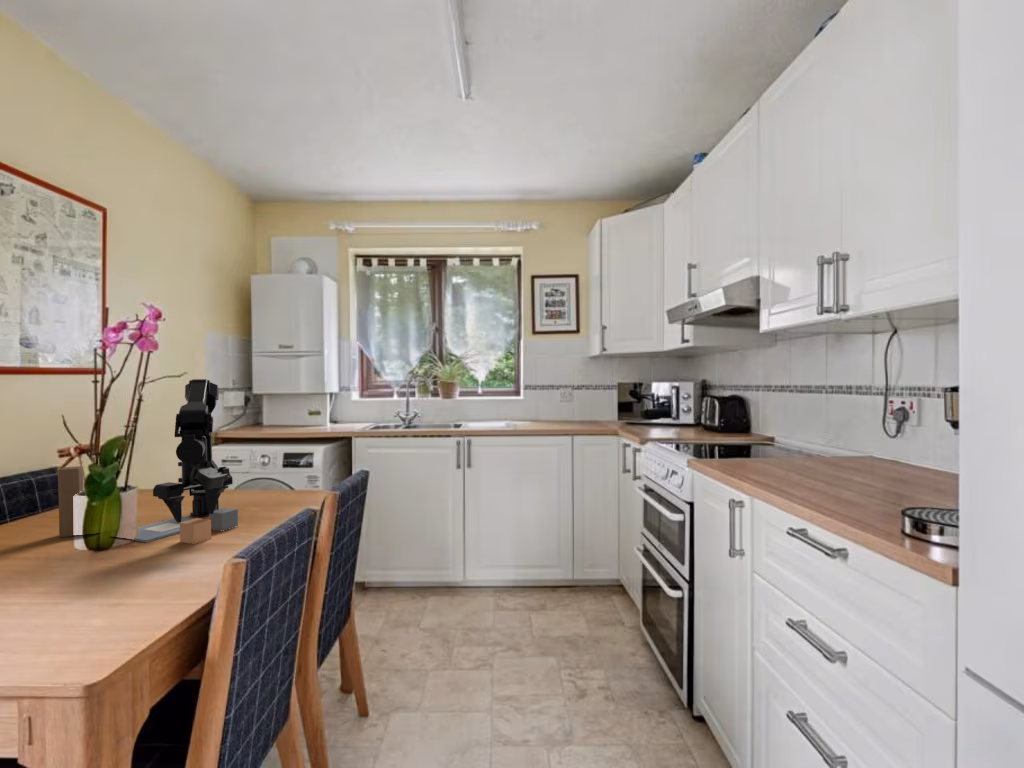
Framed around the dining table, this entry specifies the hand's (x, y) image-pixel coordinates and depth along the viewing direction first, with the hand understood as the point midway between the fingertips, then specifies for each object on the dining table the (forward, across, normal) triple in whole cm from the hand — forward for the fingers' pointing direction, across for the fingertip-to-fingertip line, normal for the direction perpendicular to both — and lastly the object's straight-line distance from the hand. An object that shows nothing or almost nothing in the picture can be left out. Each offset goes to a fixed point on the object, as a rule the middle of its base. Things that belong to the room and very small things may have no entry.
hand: (195, 518), depth 145 cm
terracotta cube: (+6, 0, 0) cm, 6 cm away
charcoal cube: (+6, +11, +3) cm, 13 cm away
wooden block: (+6, -7, +34) cm, 35 cm away
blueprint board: (+6, +4, +17) cm, 18 cm away
